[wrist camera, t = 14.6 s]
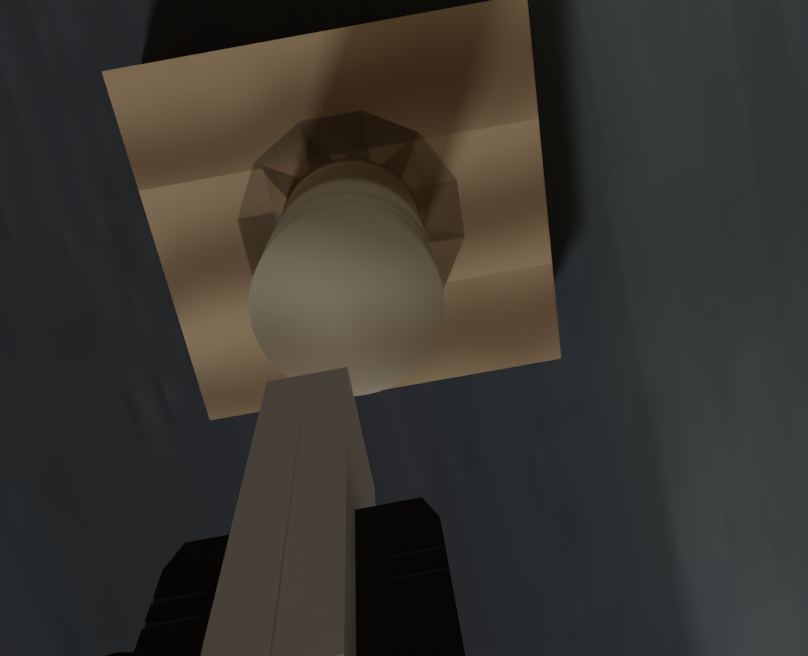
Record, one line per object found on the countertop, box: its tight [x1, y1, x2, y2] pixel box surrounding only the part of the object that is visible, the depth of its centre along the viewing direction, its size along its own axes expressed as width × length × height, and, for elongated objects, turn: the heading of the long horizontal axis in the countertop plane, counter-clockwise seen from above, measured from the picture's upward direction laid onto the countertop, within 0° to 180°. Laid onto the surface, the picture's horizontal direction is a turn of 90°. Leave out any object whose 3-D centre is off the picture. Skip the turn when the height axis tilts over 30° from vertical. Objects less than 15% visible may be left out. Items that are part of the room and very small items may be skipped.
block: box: [102, 0, 561, 420], centre depth 32 cm, size 15×16×5 cm
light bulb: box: [249, 158, 445, 396], centre depth 27 cm, size 6×6×14 cm
